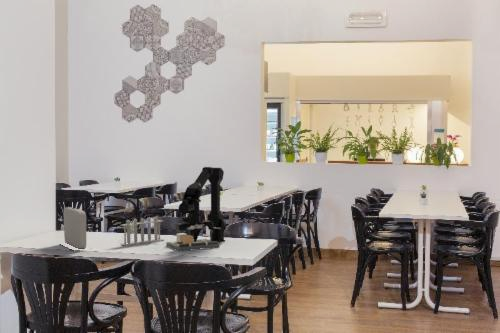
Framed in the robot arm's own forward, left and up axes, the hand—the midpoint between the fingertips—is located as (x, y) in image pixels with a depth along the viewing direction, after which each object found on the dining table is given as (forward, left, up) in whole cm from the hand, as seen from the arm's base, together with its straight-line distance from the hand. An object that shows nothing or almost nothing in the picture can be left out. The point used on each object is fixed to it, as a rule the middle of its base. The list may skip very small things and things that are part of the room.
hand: (195, 242), depth 369 cm
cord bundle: (0, +4, -1) cm, 4 cm away
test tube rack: (+18, -30, -4) cm, 35 cm away
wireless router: (+53, -35, -3) cm, 63 cm away
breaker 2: (+4, 0, -1) cm, 4 cm away
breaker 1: (+4, -9, -1) cm, 10 cm away
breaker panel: (0, -4, -3) cm, 5 cm away
